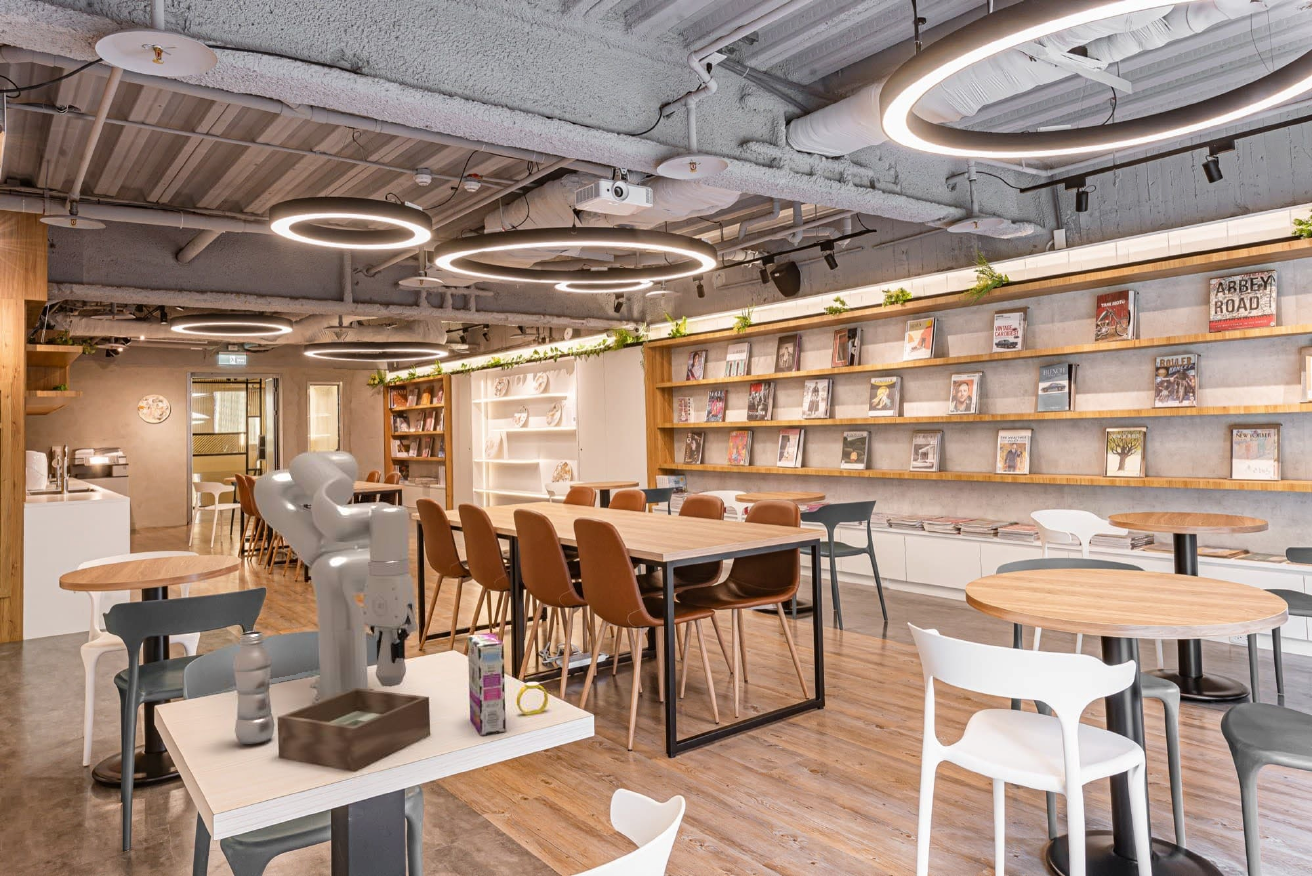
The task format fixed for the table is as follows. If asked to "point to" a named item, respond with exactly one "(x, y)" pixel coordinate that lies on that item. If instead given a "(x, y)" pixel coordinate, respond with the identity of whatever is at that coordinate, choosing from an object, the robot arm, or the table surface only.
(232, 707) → the table surface
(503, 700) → the candy bar box
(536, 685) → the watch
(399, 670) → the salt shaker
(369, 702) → the box
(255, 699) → the plastic bottle
